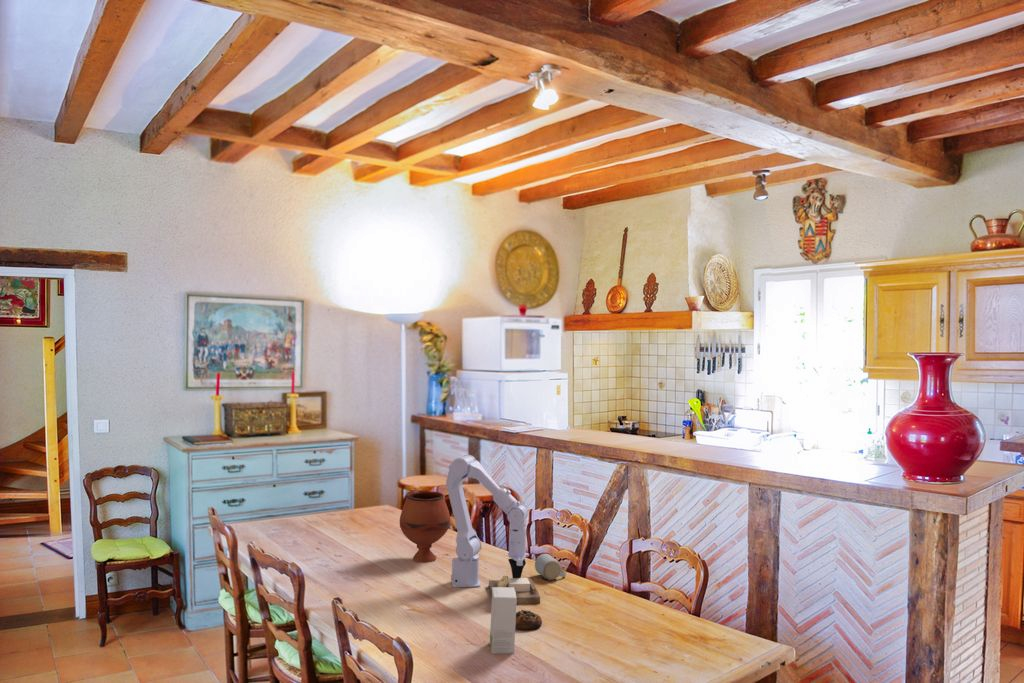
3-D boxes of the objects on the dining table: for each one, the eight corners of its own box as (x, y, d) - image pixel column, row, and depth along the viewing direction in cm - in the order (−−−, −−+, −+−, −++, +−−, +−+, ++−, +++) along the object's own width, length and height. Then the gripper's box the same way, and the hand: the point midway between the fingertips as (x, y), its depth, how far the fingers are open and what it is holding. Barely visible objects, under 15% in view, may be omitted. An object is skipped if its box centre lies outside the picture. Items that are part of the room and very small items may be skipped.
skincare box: (489, 642, 213) (491, 586, 213) (513, 642, 213) (514, 586, 213) (491, 654, 205) (492, 596, 205) (515, 654, 205) (517, 596, 205)
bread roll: (530, 634, 219) (529, 616, 220) (498, 631, 225) (497, 613, 226) (549, 624, 229) (548, 607, 229) (518, 621, 235) (517, 604, 235)
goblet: (389, 562, 287) (390, 496, 287) (414, 550, 304) (415, 488, 304) (434, 569, 279) (436, 501, 279) (457, 556, 297) (459, 492, 297)
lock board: (493, 604, 244) (494, 593, 244) (488, 586, 262) (489, 576, 262) (540, 603, 246) (540, 592, 246) (531, 585, 264) (532, 575, 264)
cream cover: (508, 591, 251) (509, 583, 251) (506, 585, 256) (507, 578, 256) (529, 591, 251) (530, 583, 251) (527, 585, 257) (527, 578, 257)
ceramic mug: (543, 581, 268) (544, 560, 268) (533, 575, 276) (534, 553, 276) (570, 579, 272) (571, 558, 272) (560, 572, 280) (560, 551, 280)
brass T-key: (502, 589, 251) (503, 575, 251) (508, 590, 251) (508, 576, 251) (495, 601, 240) (496, 586, 240) (501, 602, 239) (501, 587, 239)
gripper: (532, 546, 252) (531, 587, 252) (526, 535, 267) (525, 574, 267) (511, 546, 251) (510, 588, 251) (506, 535, 266) (505, 574, 266)
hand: (516, 581), depth 259 cm, fingers closed
